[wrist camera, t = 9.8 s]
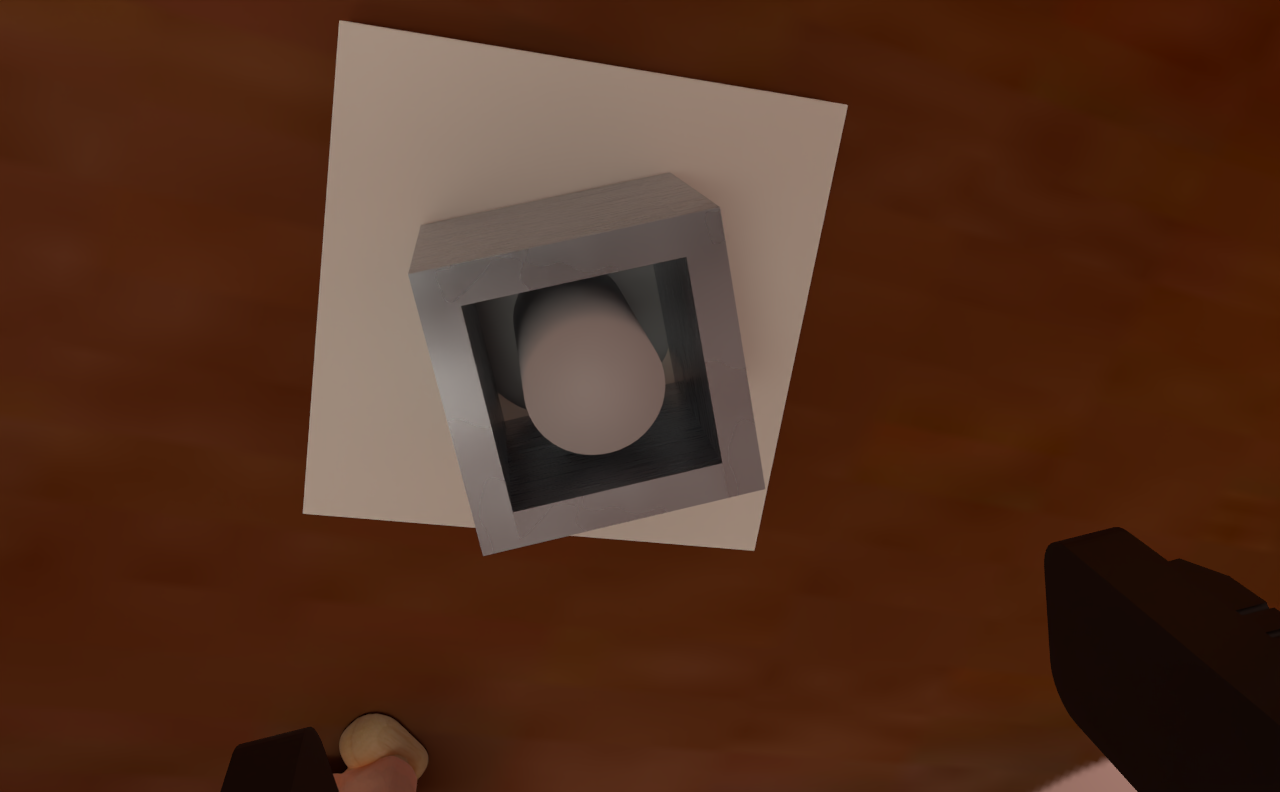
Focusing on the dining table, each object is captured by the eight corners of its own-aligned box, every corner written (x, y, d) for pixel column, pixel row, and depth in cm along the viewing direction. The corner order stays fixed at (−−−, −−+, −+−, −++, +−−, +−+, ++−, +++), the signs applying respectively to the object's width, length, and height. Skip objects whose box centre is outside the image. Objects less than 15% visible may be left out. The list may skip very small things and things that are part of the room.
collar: (420, 224, 25) (408, 274, 20) (670, 171, 26) (719, 207, 21) (480, 457, 27) (483, 556, 22) (710, 404, 28) (765, 489, 23)
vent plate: (313, 482, 29) (259, 637, 22) (348, 21, 26) (298, 16, 18) (737, 520, 32) (820, 671, 24) (822, 100, 28) (951, 124, 21)
